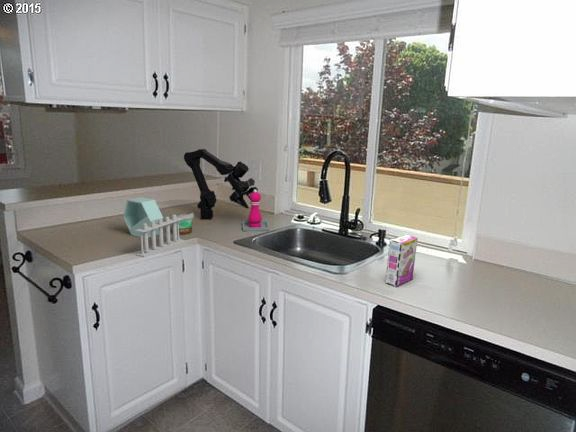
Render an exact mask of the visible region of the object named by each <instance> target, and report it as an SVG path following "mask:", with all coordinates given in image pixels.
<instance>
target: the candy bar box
mask: <svg viewBox="0 0 576 432" xmlns="http://www.w3.org/2000/svg"><path fill="white" fill-rule="evenodd" d="M418 239H419V238H418V237H415V236H412V235H409V234H405V235H402V236H399V237H395V238H392V239H390V240H389V244H388V245H389V246H388V255H387V263H386V273H385V284H387V285H390V286H392V287H394V288H396V287H400V286H401V285H404V284H406V283H408V282H410V281H411V280H413V279H414V278H413V277H414V269H415V261H416V254H417V247H418Z"/></svg>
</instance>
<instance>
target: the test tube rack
mask: <svg viewBox="0 0 576 432" xmlns="http://www.w3.org/2000/svg"><path fill="white" fill-rule="evenodd" d="M171 215H172V219H170V216H165V218H164V219H165V220H164V221H162V219H158V223H156V224H155V221H151V225H150V226H147V223H144V224H143V225H142V226H143V228H141V229H137V230H135V231H136V232H140V237H141V238H140V237H139V238H140V249H141V251H140V252H138V253H136V254H135V255H136V257H140V258H146V257H149V256H151V255H154V254H156V253H159V252H161V251H164V250H167V249H169V248H171V247H174V246H175V245H178V244H181V243H184V242H185V239H182V238H180V235H179V221H180V220H183V218H177V217H176V215H177V214H171ZM176 222H177V224H176ZM172 223H173V229H172V238H173V239H171V225H172ZM164 226H165V238H166V242H164V229H163V228H164ZM155 228H159V235H158V241H159V245H157V236H156V233H155ZM149 230H151V237H150V238H151V248H150V247H149V238H148V231H149ZM142 234H143V236H142Z"/></svg>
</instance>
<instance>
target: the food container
mask: <svg viewBox="0 0 576 432" xmlns="http://www.w3.org/2000/svg"><path fill="white" fill-rule="evenodd" d="M172 215H173V214H169V219H172ZM175 215H176V217H177V218H183V220H180V221H179V236H184V235H190V234H191V233H192V232H193V219H194V217H195V214H194V212H193V211H192V210H191V211H190V213H189V212H188V213H180V214H175ZM176 224H177V222H176ZM171 227H172V228H171V229H172V230H173V223H171Z"/></svg>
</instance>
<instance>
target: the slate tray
mask: <svg viewBox="0 0 576 432" xmlns="http://www.w3.org/2000/svg"><path fill="white" fill-rule="evenodd" d="M249 223H250V222H249V220H244V221H242V232H270V230H269V229H270V228H269V223H268V220H261V222H260V223H261V227H252V228H250V227H249Z"/></svg>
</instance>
